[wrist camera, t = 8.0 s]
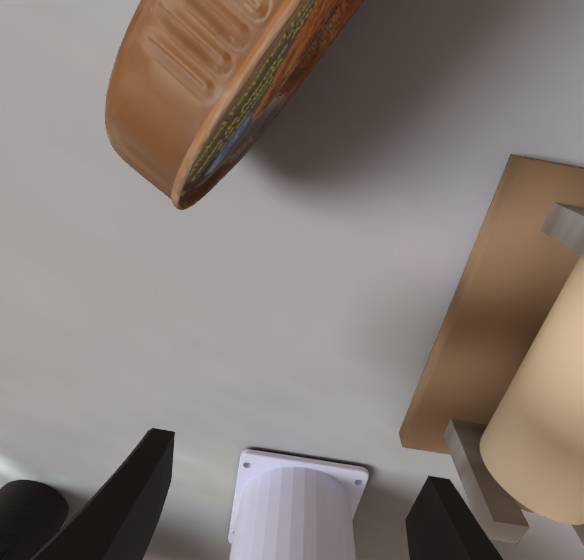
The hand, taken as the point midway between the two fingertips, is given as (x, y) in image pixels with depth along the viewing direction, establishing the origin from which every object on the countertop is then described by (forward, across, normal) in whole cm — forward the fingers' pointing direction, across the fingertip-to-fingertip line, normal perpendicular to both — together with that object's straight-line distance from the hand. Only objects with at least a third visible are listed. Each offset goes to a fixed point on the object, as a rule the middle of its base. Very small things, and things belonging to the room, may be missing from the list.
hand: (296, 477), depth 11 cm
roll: (+8, -12, -1) cm, 15 cm away
